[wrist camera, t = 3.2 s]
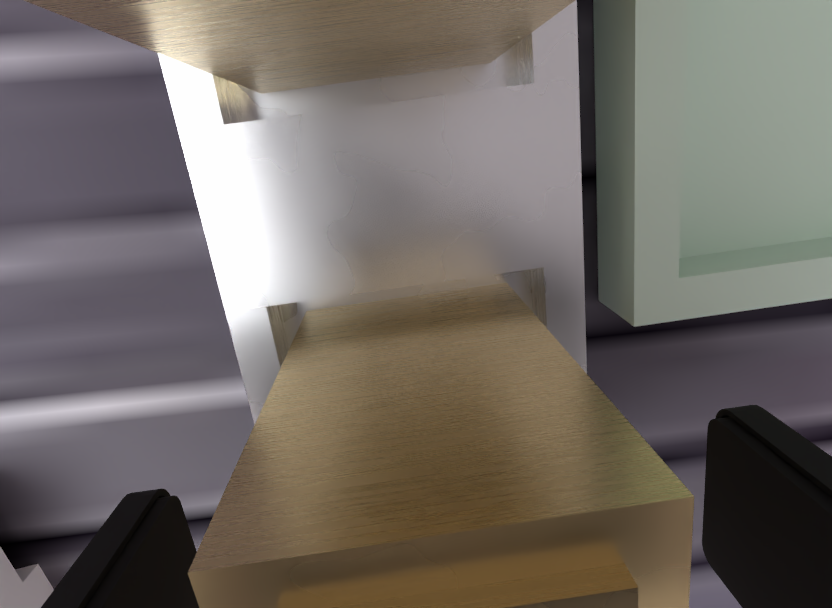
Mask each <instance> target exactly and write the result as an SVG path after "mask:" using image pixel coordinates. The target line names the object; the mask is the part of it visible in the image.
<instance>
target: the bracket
mask: <svg viewBox="0 0 832 608" xmlns="http://www.w3.org/2000/svg"><path fill="white" fill-rule="evenodd" d="M53 591H54V589H53V587H52V586H51V584H50V582H49V581H48V579H47V577H46V576H45V574H44V573H43V571H42V569H41V568H40V566H39V564H35V565H31V566H27V567H23V568H19V569H14V567H13V566H12V564H11V563H10V561H9V560H8V558H7V556H6V555H5V553H4V552H3V550H2V549H1V547H0V608H41V607H42V605H43V604H44V603H45V601H46V600H47V599H48V597H49V596H50V595H51V593H52V592H53Z"/></svg>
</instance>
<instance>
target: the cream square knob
mask: <svg viewBox="0 0 832 608" xmlns="http://www.w3.org/2000/svg"><path fill="white" fill-rule="evenodd" d="M24 1H27V2H29V3H32V4H34V5H37V6H40V7H42V8H45V9H47V10H50V11H52V12H55V13H57V14H60V15H62V16H65V17H68V18H70V19H73V20H75V21H78V22H80V23H83V24H85V25H88V26H90V27H93V28H96V29H98V30H101V31H103V32H106V33H108V34H111V35H113V36H116V37H119V38H121V39H124V40H126V41H129V42H131V43H134V44H136V45H139V46H141V47H144V48H147V49H149V50H152V51H154V52H157V53H159V54H162V55H164V56H167V57H169V58H172V59H175V60H177V61H180V62H182V63H185V64H187V65H190V66H192V67H195V68H197V69H200V70H203V71H205V72H208V73H210V74H213V75H215V76H218V77H220V78H223V79H225V80H228V81H231V82H233V83H236V84H238V85H241V86H243V87H246V88H248V89H251V90H253V91H256V92H259V93H261V94H262V93H269V92H277V91H284V90H292V89H299V88H307V87H314V86H322V85H329V84H337V83H344V82H352V81H359V80H367V79H374V78H382V77H389V76H397V75H404V74H412V73H419V72H427V71H434V70H442V69H449V68H457V67H464V66H472V65H479V64H487V63H491V62H492V61H494V60H495V59H496V58H498V57H499V56H500V55H502V54H503V53H504V52H506V51H507V50H509V49H510V48H511V47H513V46H514V45H515V44H517V43H518V42H519V41H521V40H522V39H524V38H525V37H526V36H528V35H529V34H530V33H532V32H533V31H534V30H536V29H537V28H539V27H540V26H541V25H543V24H544V23H545V22H547V21H548V20H549V19H551V18H552V17H553V16H555V15H556V14H558V13H559V12H560V11H562V10H563V9H564V8H566V7H567V6H568V5H570V4H571V3H573V2H574V1H575V0H24Z"/></svg>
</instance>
